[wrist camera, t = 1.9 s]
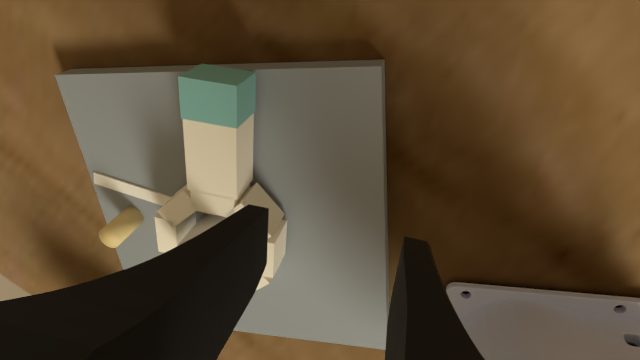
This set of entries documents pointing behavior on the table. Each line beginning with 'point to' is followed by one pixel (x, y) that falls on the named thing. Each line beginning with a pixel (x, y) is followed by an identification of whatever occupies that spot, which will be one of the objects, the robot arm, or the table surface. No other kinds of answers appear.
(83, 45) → the table surface
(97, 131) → the post board
